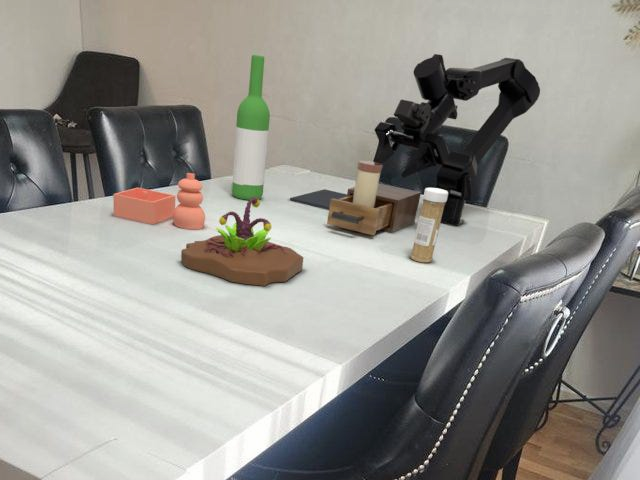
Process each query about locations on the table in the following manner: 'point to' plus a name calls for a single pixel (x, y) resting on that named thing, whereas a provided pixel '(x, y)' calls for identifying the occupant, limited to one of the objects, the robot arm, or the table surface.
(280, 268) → the plant
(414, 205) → the cabinet
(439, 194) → the spice jar
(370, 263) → the table surface
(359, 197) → the spice shaker
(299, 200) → the mat
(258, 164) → the wine bottle
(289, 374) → the table surface
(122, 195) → the pottery
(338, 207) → the drawer
